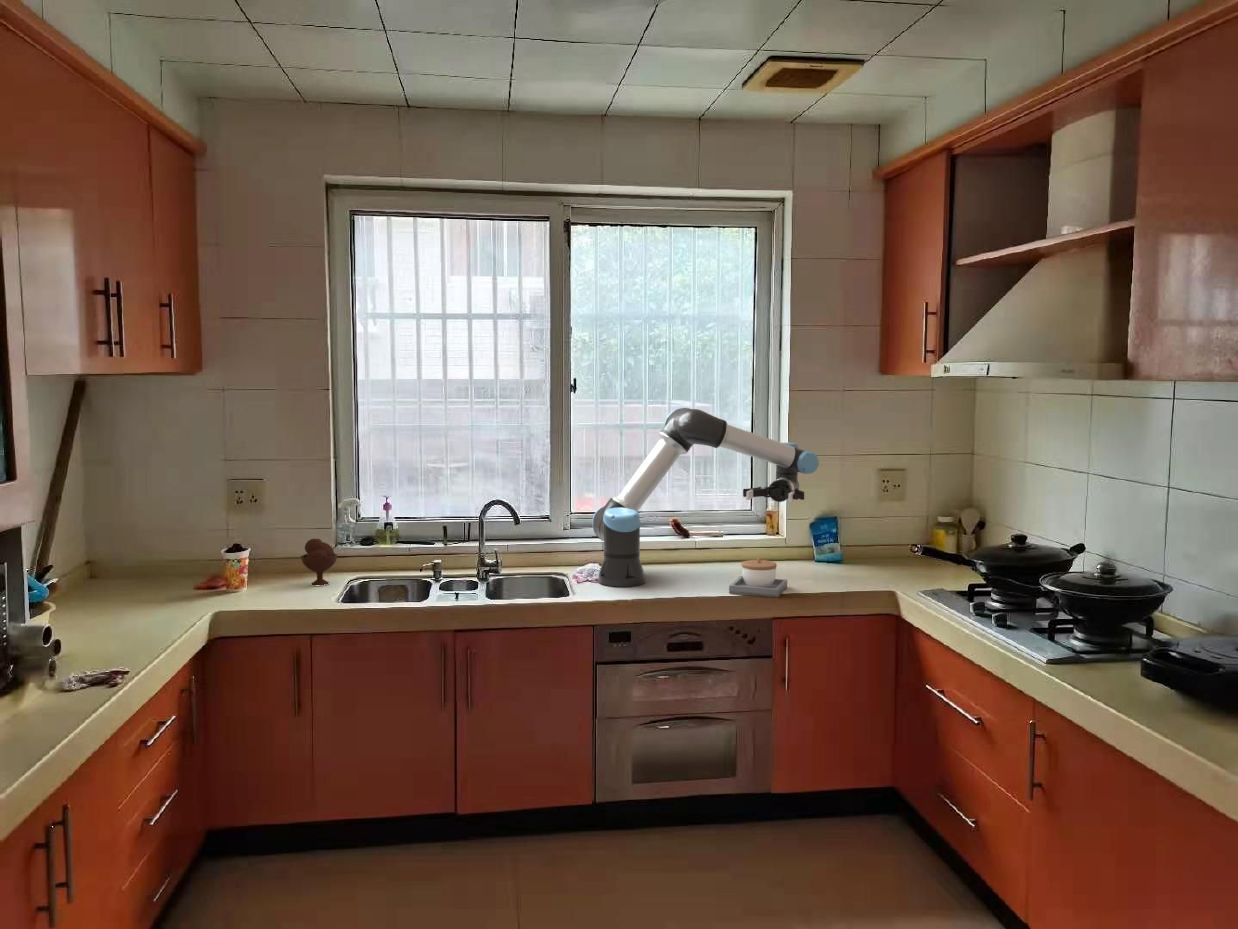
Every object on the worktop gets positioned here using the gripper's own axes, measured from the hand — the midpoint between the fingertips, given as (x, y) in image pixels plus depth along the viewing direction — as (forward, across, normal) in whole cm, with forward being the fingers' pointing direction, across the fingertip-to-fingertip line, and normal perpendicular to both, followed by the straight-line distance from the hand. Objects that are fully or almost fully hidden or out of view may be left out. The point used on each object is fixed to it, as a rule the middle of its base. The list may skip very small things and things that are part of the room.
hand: (768, 496), depth 286 cm
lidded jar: (+12, 0, -27) cm, 30 cm away
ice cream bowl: (+55, +133, -29) cm, 147 cm away
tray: (+13, 0, -28) cm, 31 cm away
